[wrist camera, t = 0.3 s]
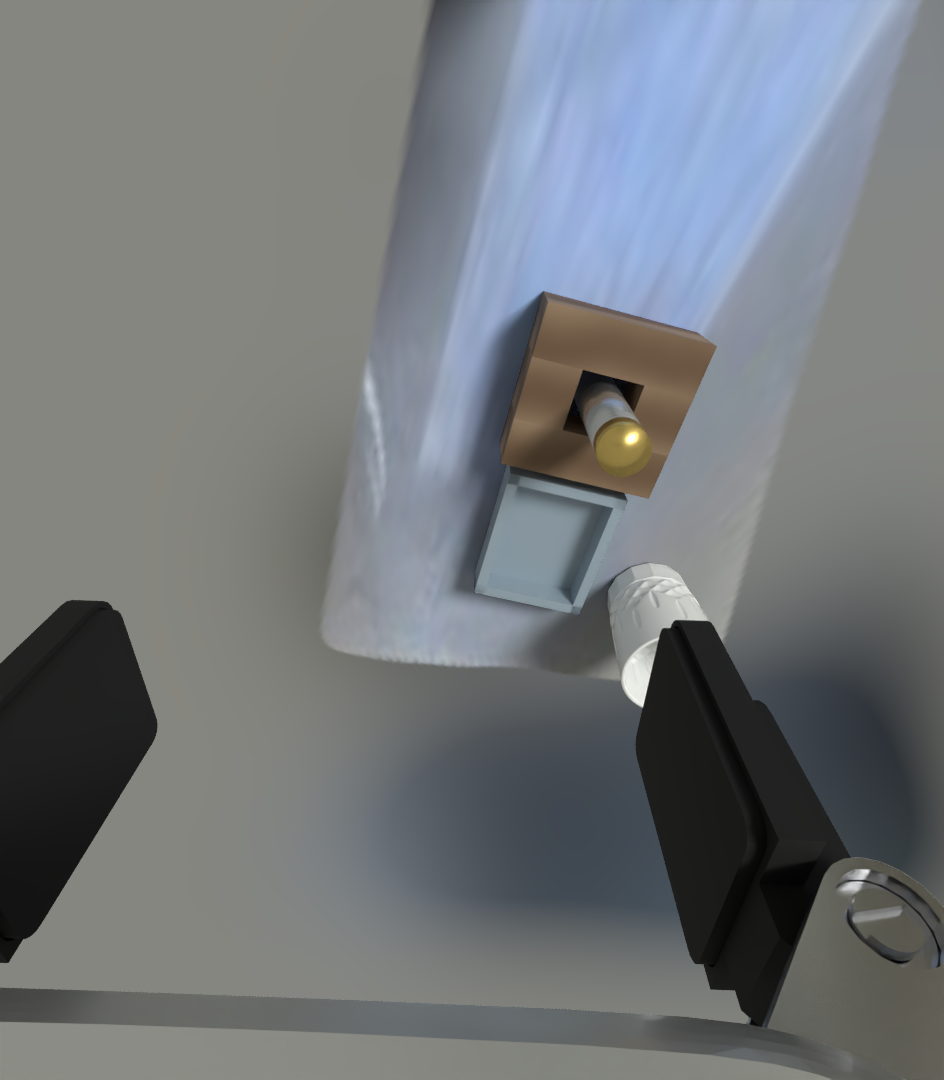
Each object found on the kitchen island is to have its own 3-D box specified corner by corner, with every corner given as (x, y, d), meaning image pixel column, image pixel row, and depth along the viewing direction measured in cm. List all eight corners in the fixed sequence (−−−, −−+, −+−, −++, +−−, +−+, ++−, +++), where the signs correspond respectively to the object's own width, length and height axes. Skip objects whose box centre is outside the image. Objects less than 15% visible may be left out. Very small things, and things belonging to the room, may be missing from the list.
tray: (509, 457, 46) (510, 473, 43) (620, 483, 47) (627, 501, 44) (474, 572, 51) (474, 592, 49) (574, 593, 52) (578, 614, 50)
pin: (580, 364, 42) (608, 420, 32) (620, 375, 42) (660, 433, 32) (567, 404, 43) (589, 469, 34) (606, 414, 44) (639, 481, 34)
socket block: (543, 291, 40) (548, 301, 36) (697, 332, 41) (716, 346, 37) (499, 442, 45) (500, 463, 42) (636, 475, 46) (648, 498, 43)
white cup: (661, 639, 55) (693, 724, 46) (584, 613, 53) (602, 696, 45) (709, 573, 51) (754, 652, 42) (627, 544, 49) (656, 619, 41)
